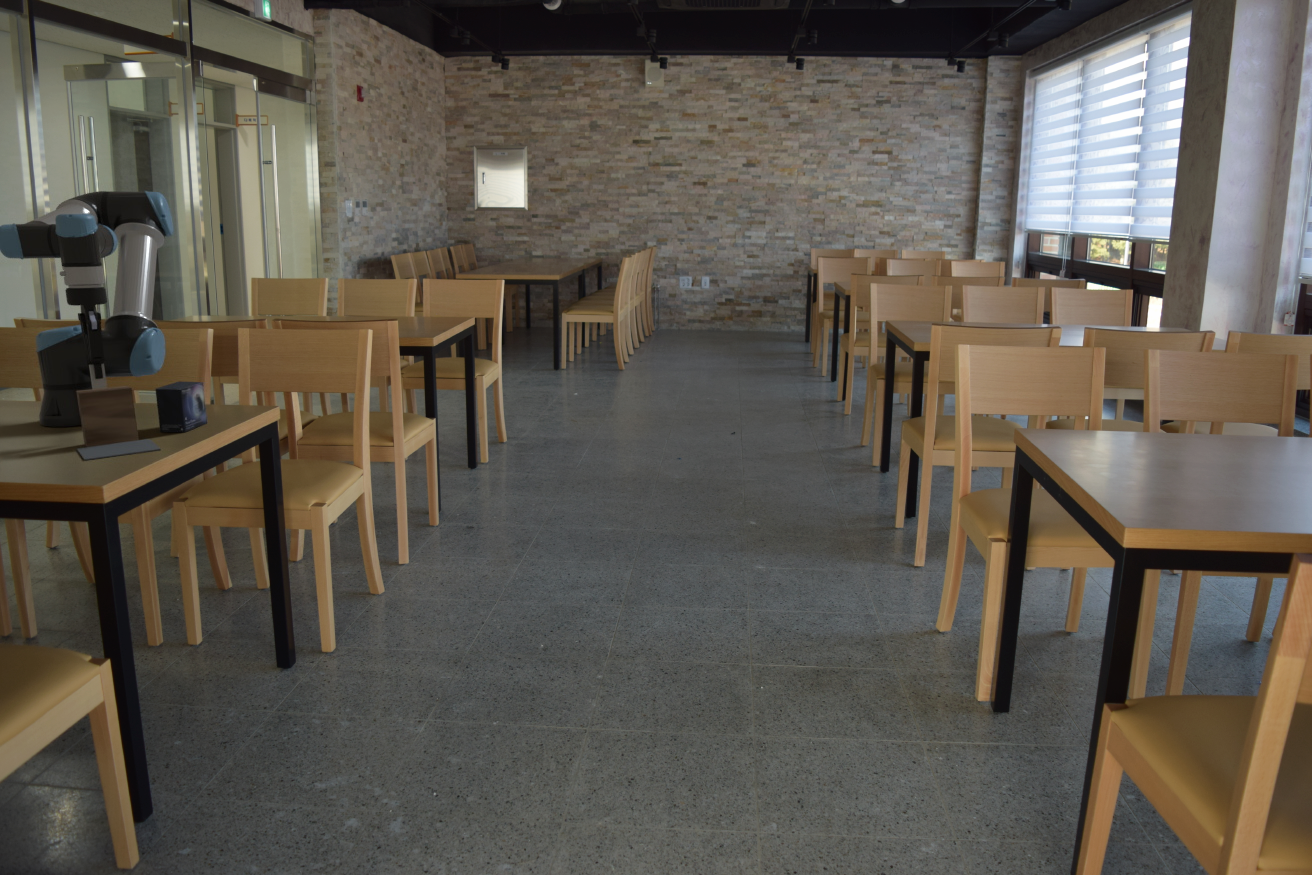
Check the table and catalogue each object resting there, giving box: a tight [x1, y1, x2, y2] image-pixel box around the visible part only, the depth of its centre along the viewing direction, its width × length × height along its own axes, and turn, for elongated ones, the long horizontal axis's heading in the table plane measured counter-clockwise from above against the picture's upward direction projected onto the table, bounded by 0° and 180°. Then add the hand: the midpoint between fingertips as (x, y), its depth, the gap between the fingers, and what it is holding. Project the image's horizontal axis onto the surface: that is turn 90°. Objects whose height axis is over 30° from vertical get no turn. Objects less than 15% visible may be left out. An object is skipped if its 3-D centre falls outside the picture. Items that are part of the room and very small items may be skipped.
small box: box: [154, 380, 208, 433], centre depth 215 cm, size 11×6×10 cm, turn 179°
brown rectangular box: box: [76, 385, 140, 447], centre depth 200 cm, size 4×10×12 cm, turn 128°
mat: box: [76, 438, 161, 462], centre depth 195 cm, size 12×14×1 cm
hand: (100, 392), depth 203 cm, fingers closed
